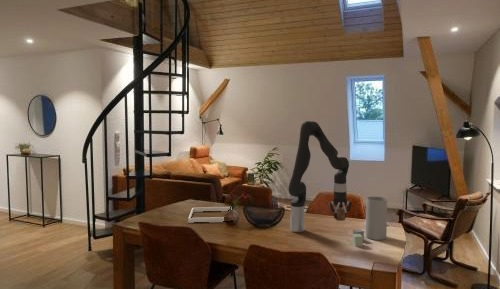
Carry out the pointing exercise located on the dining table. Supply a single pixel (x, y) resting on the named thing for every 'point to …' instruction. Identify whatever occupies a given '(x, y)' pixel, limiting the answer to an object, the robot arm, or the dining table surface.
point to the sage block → (357, 240)
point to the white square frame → (208, 219)
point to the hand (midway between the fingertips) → (340, 218)
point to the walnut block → (340, 215)
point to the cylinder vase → (376, 218)
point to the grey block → (359, 232)
